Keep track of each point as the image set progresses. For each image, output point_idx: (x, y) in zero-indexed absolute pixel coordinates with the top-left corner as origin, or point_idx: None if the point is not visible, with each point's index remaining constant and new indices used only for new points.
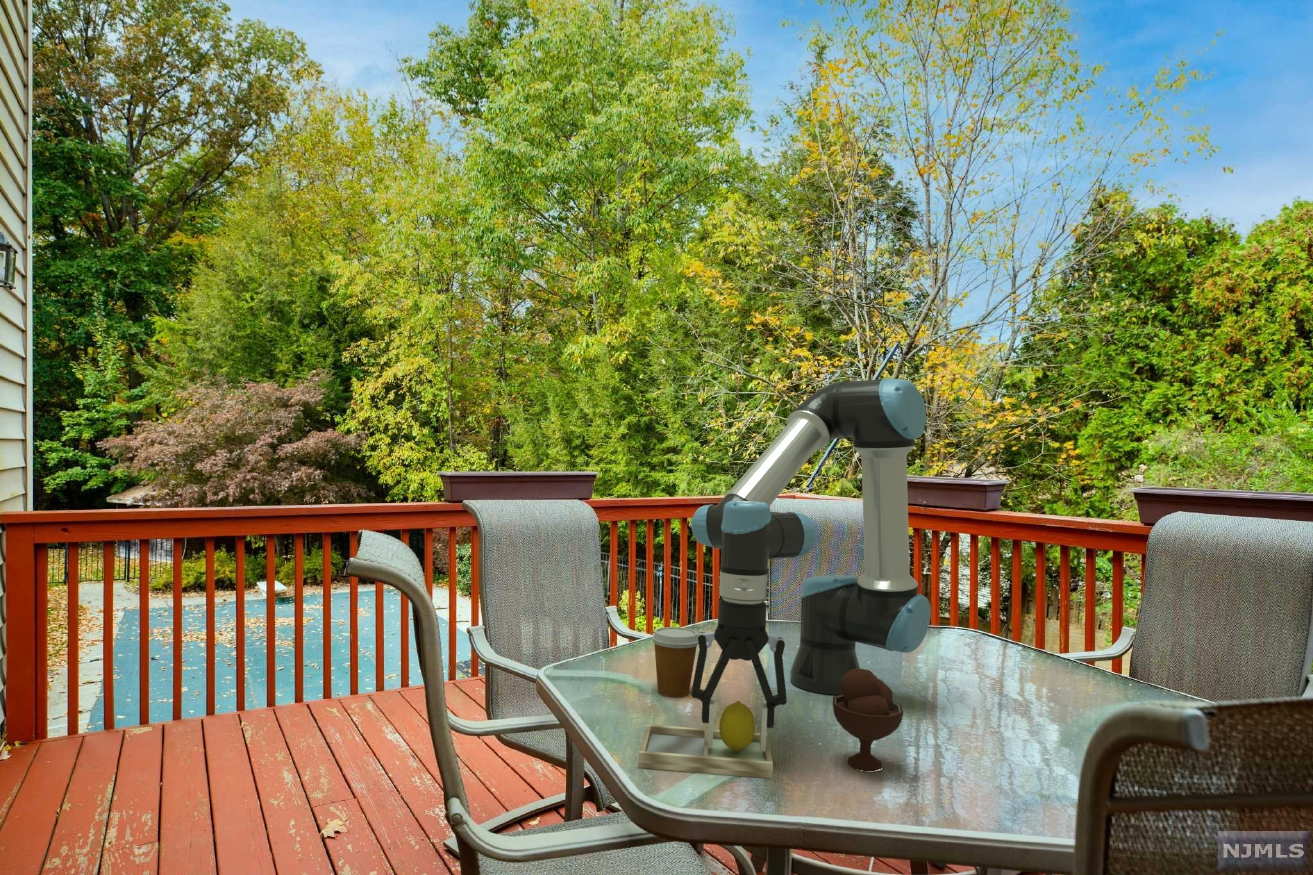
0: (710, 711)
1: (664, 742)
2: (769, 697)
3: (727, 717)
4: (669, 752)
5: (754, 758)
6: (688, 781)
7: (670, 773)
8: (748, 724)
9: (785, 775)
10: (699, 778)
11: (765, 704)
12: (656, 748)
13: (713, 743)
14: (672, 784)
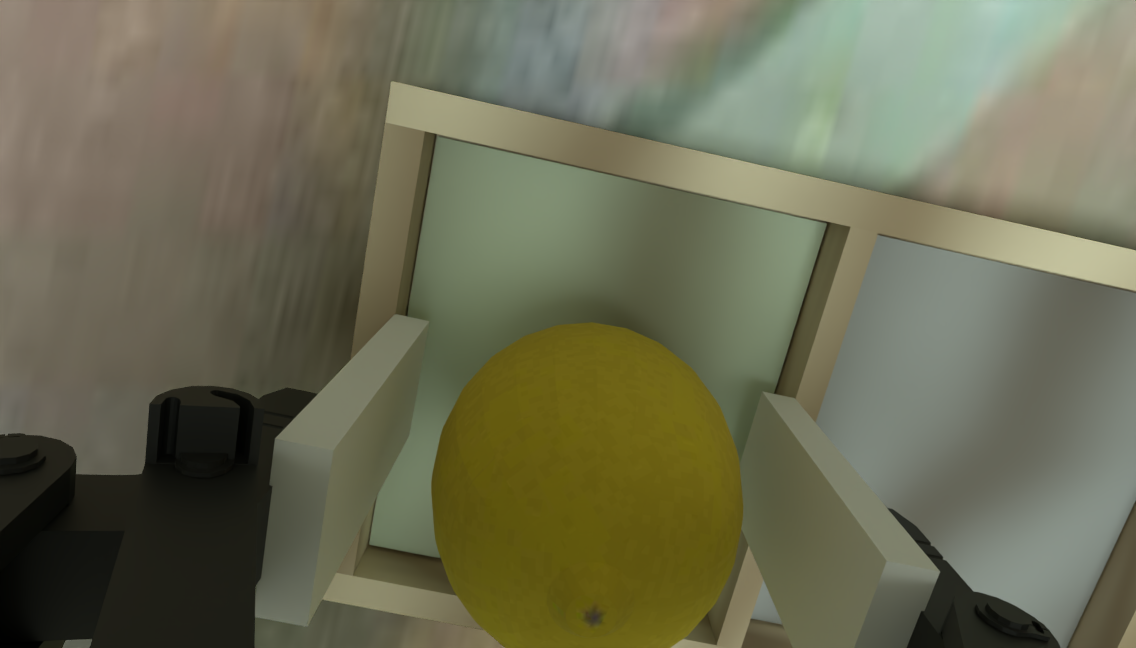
0: (894, 525)
1: (1008, 555)
2: (185, 515)
3: (716, 455)
4: (1024, 408)
5: (479, 307)
6: (980, 62)
7: (1058, 186)
8: (515, 379)
9: (314, 139)
10: (894, 106)
11: (271, 574)
12: (1090, 468)
13: None
14: (1099, 18)
